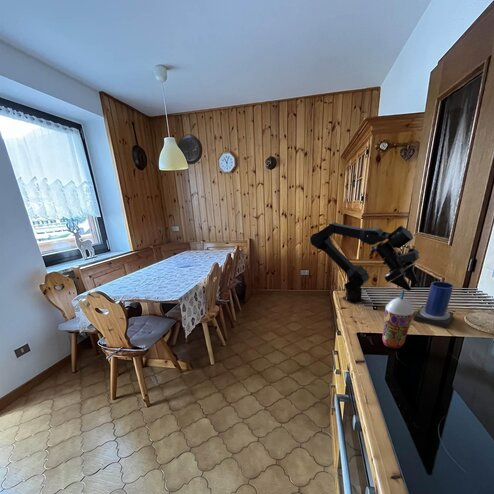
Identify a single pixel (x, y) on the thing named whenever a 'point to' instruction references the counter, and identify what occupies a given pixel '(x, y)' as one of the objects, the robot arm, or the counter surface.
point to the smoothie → (397, 321)
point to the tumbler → (438, 298)
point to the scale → (433, 318)
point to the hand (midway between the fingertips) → (413, 286)
